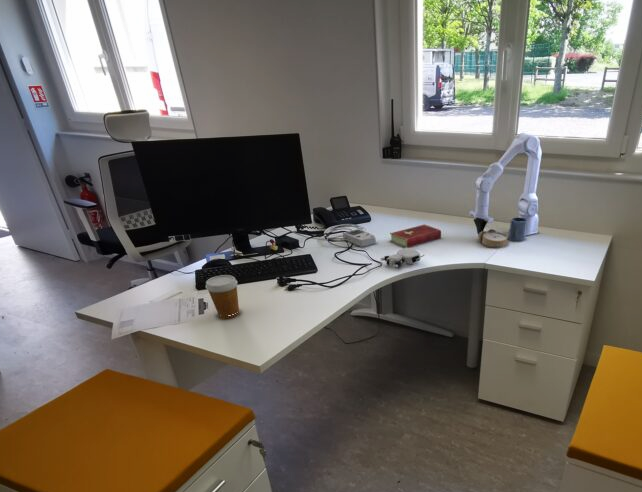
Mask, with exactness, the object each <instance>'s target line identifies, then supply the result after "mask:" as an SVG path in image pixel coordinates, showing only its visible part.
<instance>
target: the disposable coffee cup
mask: <svg viewBox="0 0 642 492" xmlns="http://www.w3.org/2000/svg"><path fill="white" fill-rule="evenodd" d="M205 289H206V290H207V291H208V293H209V296H210V298H211V300H212V303H213V305H214V308H215V310H216V312H217V316H218V317H219V318H220V319H225V320H227V319H232V318H236V317H237V316H239V314H240V308H239V296H238V280H237V279H236V277H234V276H233V275H230V274H221V275H216V276H212V277H210V278H208V279H207V280H206V281H205ZM237 312H238V313H237ZM235 313H236V314H235ZM232 314H234V315H232ZM220 315H221V316H220ZM228 315H231V316H228Z"/></svg>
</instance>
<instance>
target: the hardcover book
mask: <svg viewBox="0 0 642 492" xmlns="http://www.w3.org/2000/svg"><path fill="white" fill-rule="evenodd" d="M389 235H390V239H391V240H390V242H391V243H392V244H395V245H397V246H400V247H402V248H406V247H407V248H411V247H415V246H418V245H422V244H425V243H426V244H427V243H429V242H433V241H436V240H439V239H441V238H442V230H441V229H440V228H436V227H433V226H430V225H427V224H425V223H423V224H420V225H416V226H413V227H409V228H405V229H401V230H397V231H393V232H389Z"/></svg>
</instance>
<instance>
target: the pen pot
mask: <svg viewBox="0 0 642 492" xmlns="http://www.w3.org/2000/svg"><path fill="white" fill-rule="evenodd" d="M509 223H510V224H509V232H508V239H509V240H510V241H512V242H522V241H524V240H525V237H526V236H525V231H526V223H527V219H525V218H520V217H519V216H517V217H515V216H514V217H511V218H510V222H509Z"/></svg>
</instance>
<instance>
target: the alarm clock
mask: <svg viewBox="0 0 642 492" xmlns="http://www.w3.org/2000/svg"><path fill="white" fill-rule="evenodd" d="M477 239H478V241H479V242H480V243H482V245H483V246H484V245H485V246H486V247H488V248H489V247H490V248H495V249H497V248H504V247H506V246H507V244H509V243H510V241H508V239H509V236H508V235H507V234H505V233H503V232H499V231H496V230H495V229H489V230H487V231H486V230H485V231H484V230H483V232H480V233H479V235H478V234H477Z"/></svg>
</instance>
